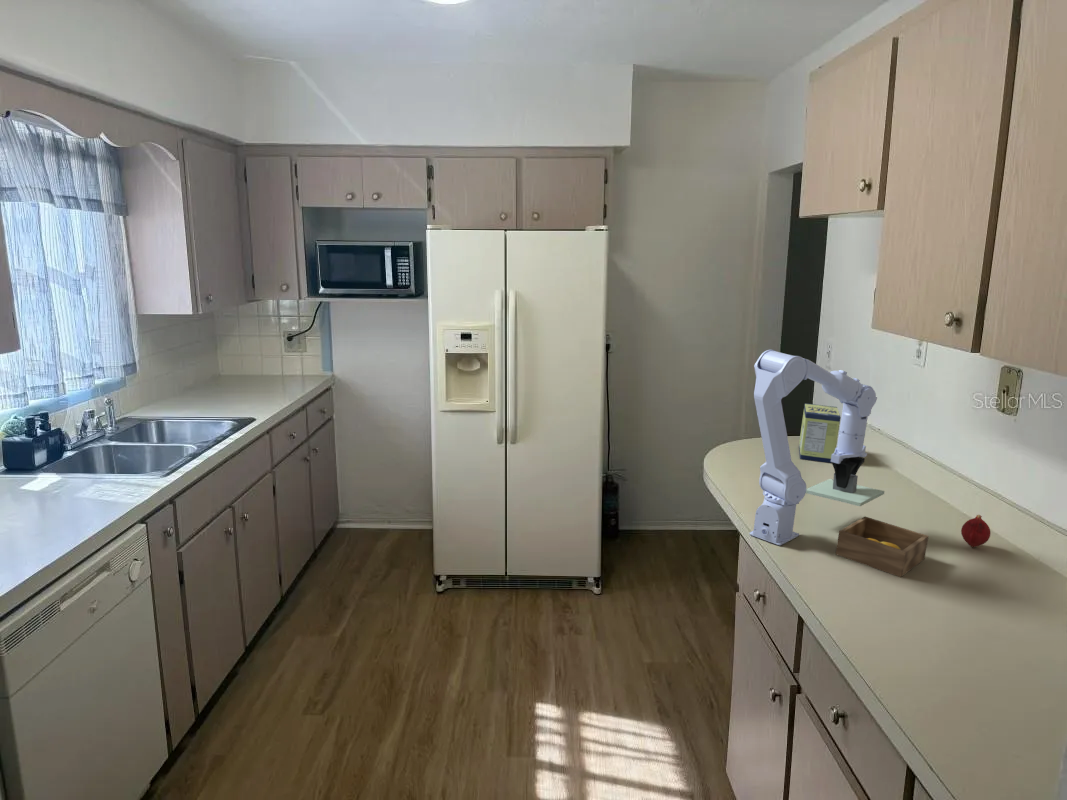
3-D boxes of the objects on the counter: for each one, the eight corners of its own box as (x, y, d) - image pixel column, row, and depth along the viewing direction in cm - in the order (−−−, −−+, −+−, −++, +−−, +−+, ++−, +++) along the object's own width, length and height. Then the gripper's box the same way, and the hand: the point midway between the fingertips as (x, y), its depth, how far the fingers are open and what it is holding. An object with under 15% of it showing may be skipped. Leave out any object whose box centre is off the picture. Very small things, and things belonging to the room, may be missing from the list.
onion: (989, 554, 166) (996, 521, 164) (961, 549, 167) (967, 517, 166) (983, 544, 171) (990, 513, 169) (956, 540, 173) (962, 508, 171)
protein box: (830, 450, 243) (837, 406, 240) (834, 464, 229) (841, 416, 225) (798, 446, 246) (804, 402, 243) (799, 459, 232) (806, 412, 228)
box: (900, 577, 152) (905, 552, 150) (835, 554, 161) (839, 531, 160) (924, 559, 161) (928, 535, 160) (861, 538, 171) (865, 516, 170)
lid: (860, 506, 166) (862, 486, 165) (804, 492, 176) (805, 473, 175) (884, 494, 175) (886, 475, 175) (829, 481, 185) (831, 463, 184)
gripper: (855, 441, 165) (846, 497, 168) (881, 431, 175) (872, 484, 178) (825, 434, 170) (817, 488, 173) (852, 425, 179) (844, 476, 183)
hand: (843, 486), depth 176 cm, fingers closed on lid, 2 cm apart
